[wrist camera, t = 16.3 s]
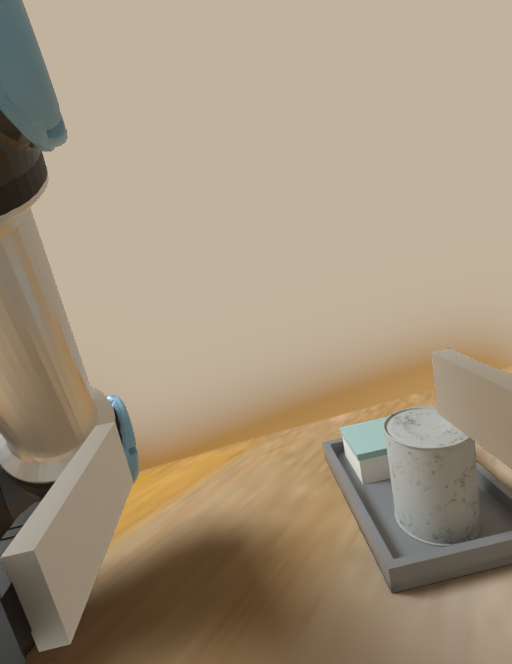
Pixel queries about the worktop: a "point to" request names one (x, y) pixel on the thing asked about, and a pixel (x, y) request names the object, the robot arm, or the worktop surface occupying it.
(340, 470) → the tote tray
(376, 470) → the teal sponge
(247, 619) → the worktop surface
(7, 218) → the robot arm
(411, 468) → the speckled grey can
